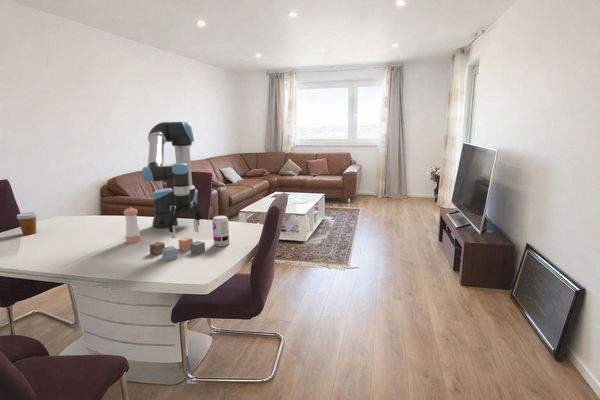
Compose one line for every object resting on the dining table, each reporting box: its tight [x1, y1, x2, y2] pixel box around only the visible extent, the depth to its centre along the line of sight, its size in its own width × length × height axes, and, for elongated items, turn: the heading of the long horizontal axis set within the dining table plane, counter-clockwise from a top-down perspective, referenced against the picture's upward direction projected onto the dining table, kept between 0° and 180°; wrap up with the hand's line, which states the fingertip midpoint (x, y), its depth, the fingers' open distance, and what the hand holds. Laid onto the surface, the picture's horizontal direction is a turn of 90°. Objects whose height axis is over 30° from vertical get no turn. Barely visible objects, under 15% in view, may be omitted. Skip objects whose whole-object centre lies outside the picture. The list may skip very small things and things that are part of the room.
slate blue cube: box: [161, 245, 178, 262], centre depth 168 cm, size 5×5×5 cm
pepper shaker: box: [123, 206, 142, 244], centre depth 192 cm, size 7×7×19 cm
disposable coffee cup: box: [16, 211, 37, 236], centre depth 208 cm, size 10×10×12 cm
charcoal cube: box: [189, 240, 206, 256], centre depth 175 cm, size 5×5×5 cm
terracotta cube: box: [178, 237, 194, 252], centre depth 182 cm, size 5×5×5 cm
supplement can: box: [211, 215, 230, 247], centre depth 186 cm, size 8×8×15 cm
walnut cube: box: [148, 241, 166, 257], centre depth 175 cm, size 5×5×5 cm
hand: (185, 235), depth 180 cm, fingers open, 13 cm apart
